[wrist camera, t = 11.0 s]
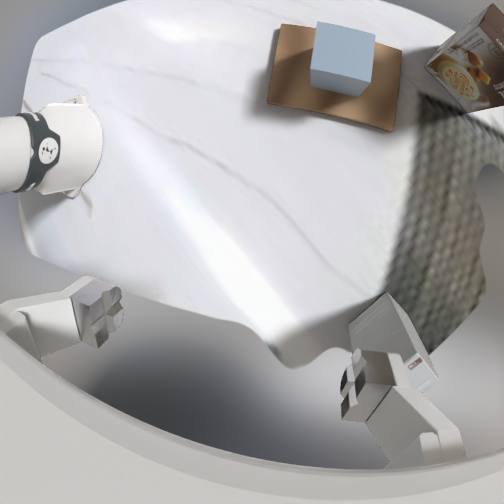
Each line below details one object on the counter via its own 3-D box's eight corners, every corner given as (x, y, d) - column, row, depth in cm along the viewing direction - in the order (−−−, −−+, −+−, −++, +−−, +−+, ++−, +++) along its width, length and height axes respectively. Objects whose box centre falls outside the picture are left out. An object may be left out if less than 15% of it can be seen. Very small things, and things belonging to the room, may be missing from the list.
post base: (268, 103, 31) (258, 92, 25) (282, 27, 27) (275, 4, 21) (390, 131, 29) (407, 127, 23) (399, 53, 25) (414, 36, 19)
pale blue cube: (310, 86, 28) (310, 68, 21) (316, 46, 26) (317, 21, 19) (358, 97, 28) (370, 82, 21) (363, 57, 25) (375, 34, 18)
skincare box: (369, 345, 40) (384, 422, 25) (343, 320, 39) (351, 399, 25) (410, 313, 37) (443, 385, 22) (386, 285, 36) (418, 355, 21)
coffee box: (483, 89, 23) (549, 72, 8) (467, 114, 25) (538, 103, 10) (439, 43, 22) (493, 1, 7) (421, 66, 25) (478, 25, 10)
